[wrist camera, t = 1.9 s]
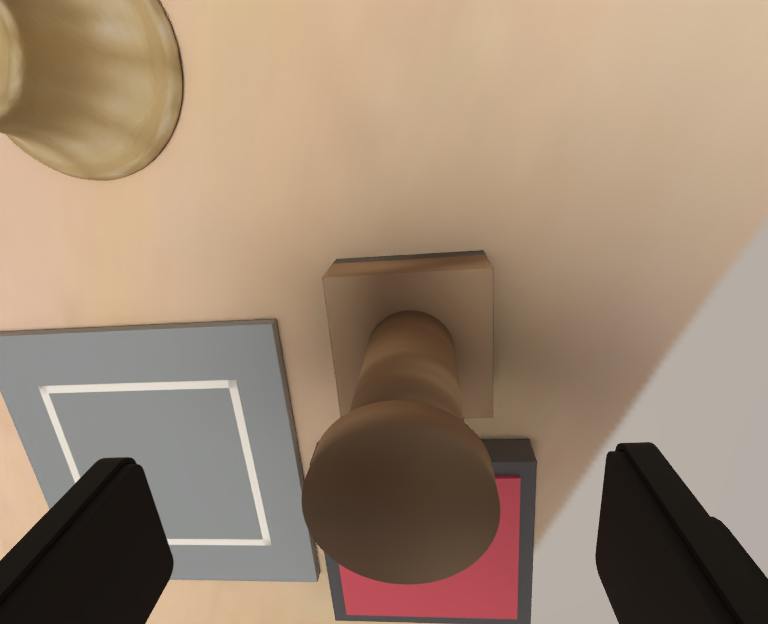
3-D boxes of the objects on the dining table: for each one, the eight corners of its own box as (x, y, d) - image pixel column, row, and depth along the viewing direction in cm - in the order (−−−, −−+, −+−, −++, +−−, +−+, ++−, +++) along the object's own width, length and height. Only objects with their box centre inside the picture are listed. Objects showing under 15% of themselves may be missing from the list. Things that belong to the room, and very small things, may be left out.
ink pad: (529, 439, 21) (537, 464, 20) (524, 596, 25) (531, 629, 23) (317, 442, 22) (308, 467, 21) (340, 592, 26) (334, 624, 24)
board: (275, 319, 20) (271, 324, 20) (319, 572, 25) (317, 582, 25) (-11, 332, 22) (-23, 337, 21) (85, 568, 27) (77, 578, 26)
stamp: (483, 250, 18) (552, 381, 8) (484, 382, 20) (540, 616, 10) (336, 259, 19) (236, 391, 9) (351, 386, 21) (283, 609, 11)
